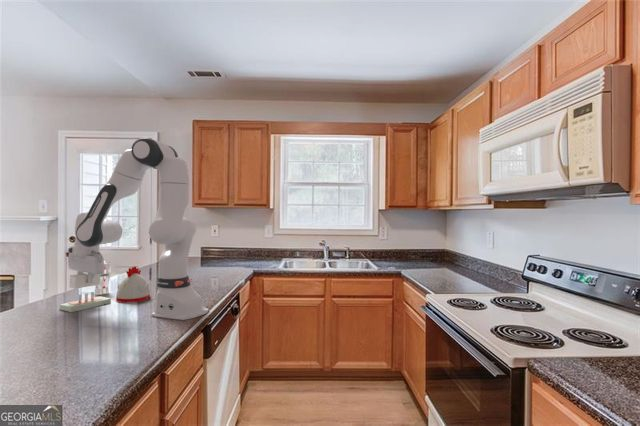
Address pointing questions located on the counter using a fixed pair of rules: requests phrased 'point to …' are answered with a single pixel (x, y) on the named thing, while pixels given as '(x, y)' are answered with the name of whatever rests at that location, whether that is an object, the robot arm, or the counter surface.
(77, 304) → the green peg board
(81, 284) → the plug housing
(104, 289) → the beer glass
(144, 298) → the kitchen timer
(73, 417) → the counter surface
